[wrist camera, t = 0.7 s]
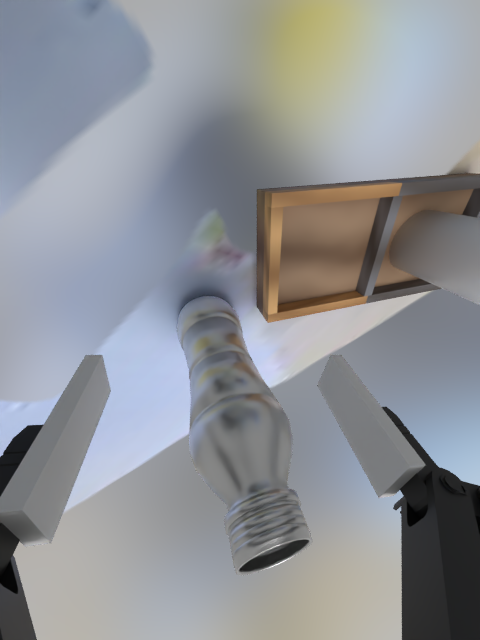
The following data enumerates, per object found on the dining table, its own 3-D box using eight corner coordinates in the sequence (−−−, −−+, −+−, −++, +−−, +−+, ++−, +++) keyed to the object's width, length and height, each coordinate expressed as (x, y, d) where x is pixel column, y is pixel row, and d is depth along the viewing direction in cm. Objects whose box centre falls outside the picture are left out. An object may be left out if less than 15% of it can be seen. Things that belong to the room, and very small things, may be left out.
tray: (256, 189, 20) (271, 193, 18) (467, 173, 25) (505, 174, 22) (256, 306, 27) (267, 322, 24) (422, 276, 32) (447, 287, 29)
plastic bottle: (213, 276, 24) (317, 508, 8) (244, 319, 28) (355, 530, 12) (162, 311, 24) (161, 593, 8) (199, 348, 28) (248, 587, 12)
